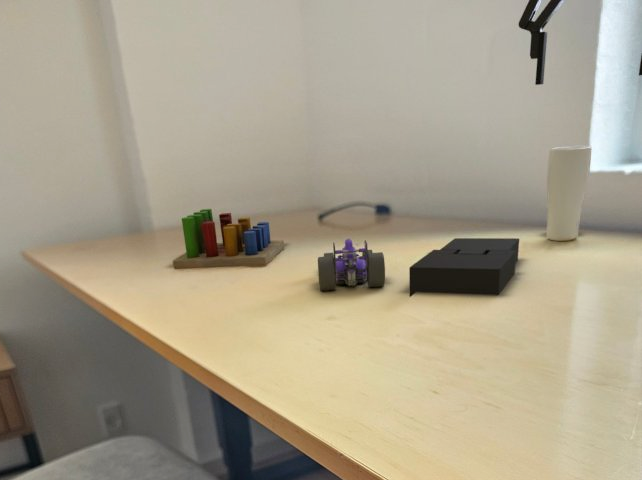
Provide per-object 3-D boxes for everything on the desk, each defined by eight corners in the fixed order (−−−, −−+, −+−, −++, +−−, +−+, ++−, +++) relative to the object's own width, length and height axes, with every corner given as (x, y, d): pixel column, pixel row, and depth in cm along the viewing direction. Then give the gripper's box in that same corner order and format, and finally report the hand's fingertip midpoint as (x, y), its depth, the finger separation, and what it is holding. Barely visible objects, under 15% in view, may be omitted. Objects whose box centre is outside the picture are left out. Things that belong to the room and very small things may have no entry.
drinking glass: (555, 234, 122) (563, 146, 116) (589, 237, 118) (600, 145, 111) (534, 240, 119) (541, 149, 112) (568, 243, 114) (578, 149, 107)
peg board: (266, 266, 116) (261, 215, 112) (173, 270, 119) (164, 221, 115) (284, 247, 131) (280, 202, 127) (201, 251, 134) (195, 207, 130)
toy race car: (376, 267, 108) (375, 226, 105) (385, 289, 95) (384, 243, 92) (319, 272, 109) (316, 231, 106) (319, 294, 95) (316, 248, 92)
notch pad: (409, 296, 90) (409, 267, 89) (433, 276, 100) (433, 249, 98) (498, 300, 85) (500, 269, 84) (514, 278, 95) (516, 250, 93)
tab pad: (434, 280, 97) (434, 253, 96) (454, 263, 107) (454, 238, 105) (503, 282, 93) (505, 254, 91) (517, 264, 103) (519, 238, 101)
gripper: (504, -96, 86) (495, 88, 96) (724, -140, 76) (689, 70, 86) (514, -84, 92) (504, 87, 102) (719, -124, 82) (687, 71, 92)
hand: (589, 80), depth 94 cm, fingers open, 13 cm apart
